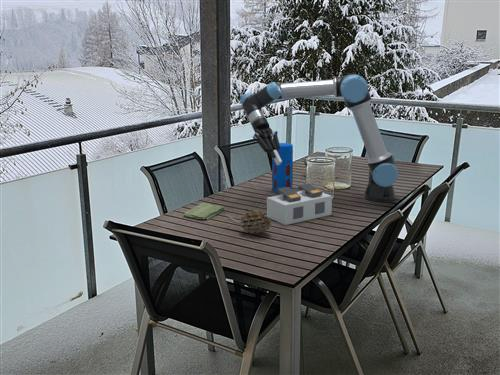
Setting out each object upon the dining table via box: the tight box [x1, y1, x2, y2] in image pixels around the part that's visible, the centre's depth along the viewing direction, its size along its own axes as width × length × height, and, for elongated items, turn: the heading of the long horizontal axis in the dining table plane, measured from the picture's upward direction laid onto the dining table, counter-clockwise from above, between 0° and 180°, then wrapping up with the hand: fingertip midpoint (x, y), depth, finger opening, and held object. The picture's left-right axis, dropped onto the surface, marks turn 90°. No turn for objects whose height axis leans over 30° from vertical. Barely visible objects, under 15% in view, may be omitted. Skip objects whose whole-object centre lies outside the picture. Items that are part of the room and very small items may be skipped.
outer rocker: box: [277, 187, 301, 202], centre depth 224 cm, size 10×6×2 cm, turn 32°
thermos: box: [271, 142, 294, 194], centre depth 268 cm, size 11×11×25 cm
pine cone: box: [226, 209, 272, 235], centre depth 209 cm, size 22×10×10 cm, turn 62°
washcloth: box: [182, 202, 225, 221], centre depth 234 cm, size 13×18×3 cm
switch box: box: [266, 186, 333, 226], centre depth 229 cm, size 14×26×12 cm, turn 122°
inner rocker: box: [297, 183, 323, 197], centre depth 230 cm, size 10×6×2 cm, turn 32°
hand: (279, 163), depth 227 cm, fingers closed
